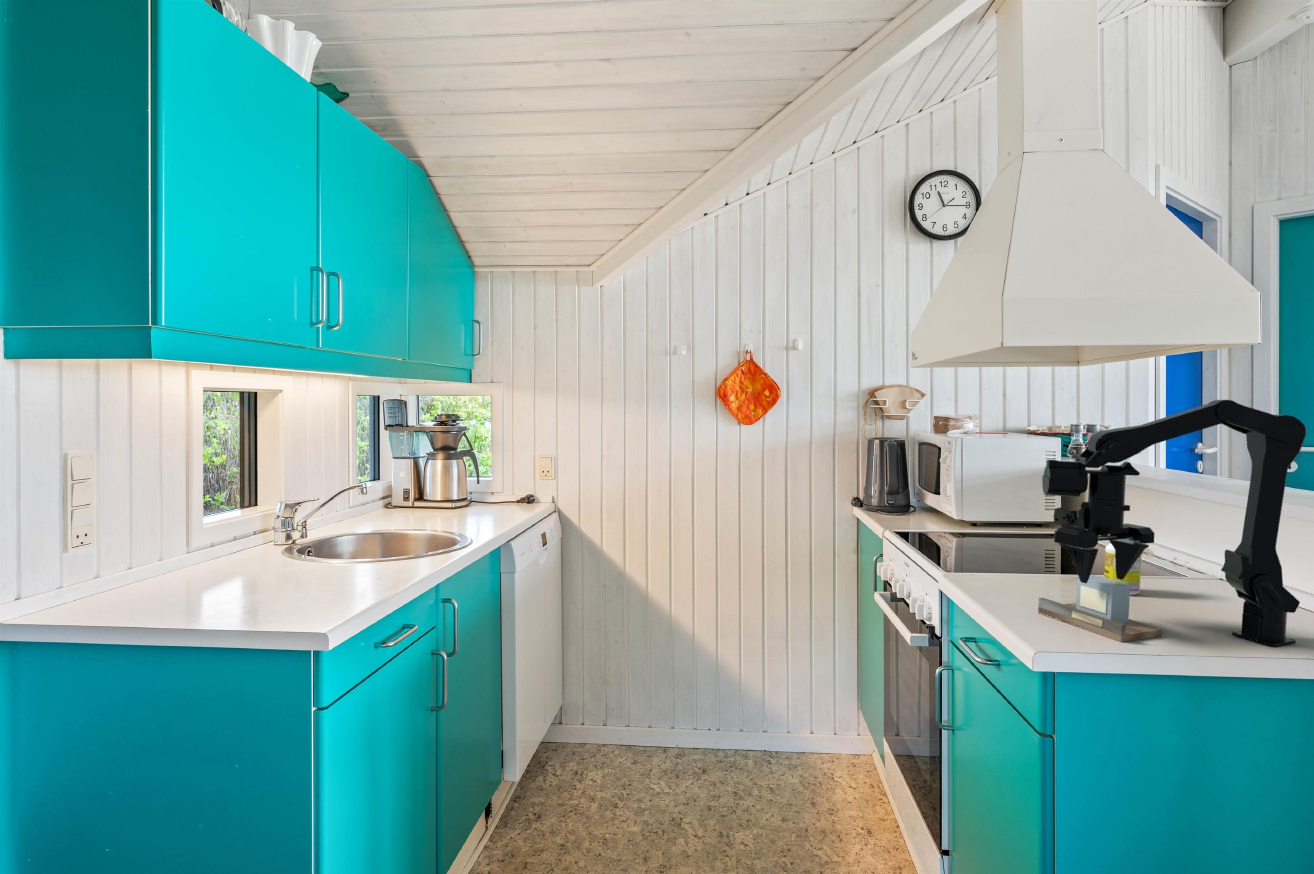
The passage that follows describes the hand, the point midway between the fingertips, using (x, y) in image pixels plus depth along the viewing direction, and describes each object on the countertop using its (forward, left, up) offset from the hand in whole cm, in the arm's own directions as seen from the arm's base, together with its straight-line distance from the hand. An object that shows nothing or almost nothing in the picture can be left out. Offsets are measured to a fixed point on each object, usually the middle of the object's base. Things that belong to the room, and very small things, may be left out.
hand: (1102, 580), depth 129 cm
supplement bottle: (-25, -15, -8) cm, 30 cm away
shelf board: (+1, 0, -8) cm, 8 cm away
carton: (0, 0, -7) cm, 7 cm away
